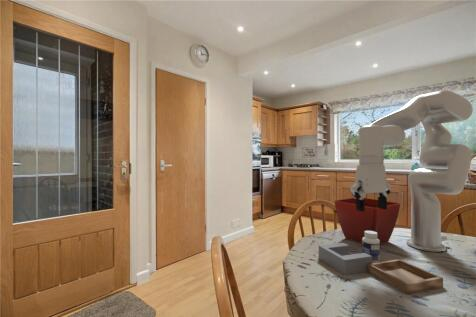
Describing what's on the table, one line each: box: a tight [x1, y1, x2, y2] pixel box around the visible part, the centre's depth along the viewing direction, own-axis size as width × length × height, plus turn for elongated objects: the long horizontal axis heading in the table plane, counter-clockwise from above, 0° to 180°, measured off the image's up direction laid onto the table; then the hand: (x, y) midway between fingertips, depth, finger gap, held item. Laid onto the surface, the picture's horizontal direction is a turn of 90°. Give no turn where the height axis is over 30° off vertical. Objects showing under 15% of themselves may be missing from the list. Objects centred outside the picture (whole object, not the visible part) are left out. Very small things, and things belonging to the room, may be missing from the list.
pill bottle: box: [361, 231, 381, 263], centre depth 84 cm, size 5×5×10 cm
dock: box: [318, 242, 372, 276], centre depth 81 cm, size 10×13×4 cm
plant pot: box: [334, 197, 401, 245], centre depth 105 cm, size 19×19×17 cm
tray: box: [367, 258, 444, 295], centre depth 71 cm, size 13×13×2 cm
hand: (371, 209), depth 85 cm, fingers open, 9 cm apart
